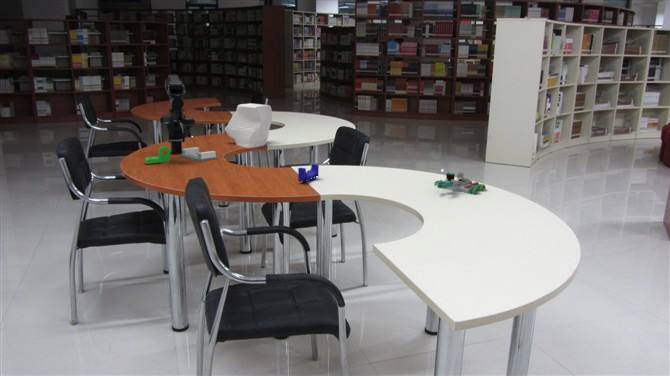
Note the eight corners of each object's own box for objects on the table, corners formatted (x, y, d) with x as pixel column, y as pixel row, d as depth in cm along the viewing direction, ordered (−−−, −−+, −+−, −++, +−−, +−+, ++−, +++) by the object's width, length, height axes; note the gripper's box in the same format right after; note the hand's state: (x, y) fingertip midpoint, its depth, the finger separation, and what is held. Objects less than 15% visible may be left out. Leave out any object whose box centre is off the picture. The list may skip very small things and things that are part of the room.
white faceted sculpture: (251, 151, 317) (250, 107, 311) (223, 145, 335) (222, 103, 329) (279, 147, 332) (278, 105, 326) (251, 142, 350) (250, 101, 344)
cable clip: (310, 176, 259) (310, 163, 257) (318, 177, 256) (318, 164, 255) (295, 180, 249) (295, 167, 247) (303, 182, 246) (303, 168, 245)
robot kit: (420, 195, 228) (422, 173, 226) (450, 185, 247) (452, 165, 245) (461, 203, 217) (462, 180, 214) (489, 192, 235) (491, 171, 233)
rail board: (180, 156, 297) (179, 149, 296) (199, 154, 305) (198, 146, 304) (198, 161, 285) (198, 153, 284) (218, 159, 293) (218, 151, 292)
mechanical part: (168, 159, 289) (167, 144, 287) (170, 161, 284) (169, 146, 282) (144, 161, 284) (143, 146, 282) (146, 163, 279) (145, 148, 277)
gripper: (151, 106, 276) (153, 137, 280) (180, 109, 268) (181, 141, 272) (167, 105, 286) (168, 134, 290) (195, 107, 278) (196, 138, 282)
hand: (178, 137), depth 283 cm, fingers open, 9 cm apart
